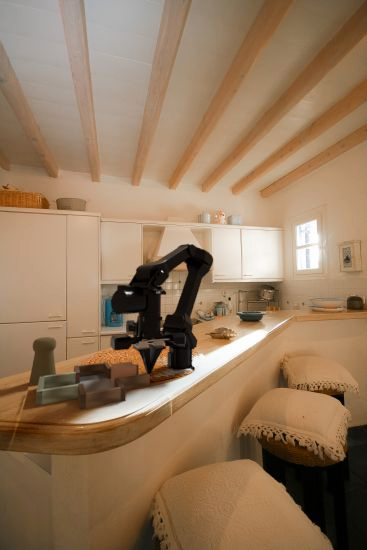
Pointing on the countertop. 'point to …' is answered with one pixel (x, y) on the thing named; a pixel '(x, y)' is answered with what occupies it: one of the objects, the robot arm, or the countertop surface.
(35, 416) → the countertop surface
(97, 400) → the trap lane
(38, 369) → the olive green pepper mill
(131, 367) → the block
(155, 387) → the countertop surface
